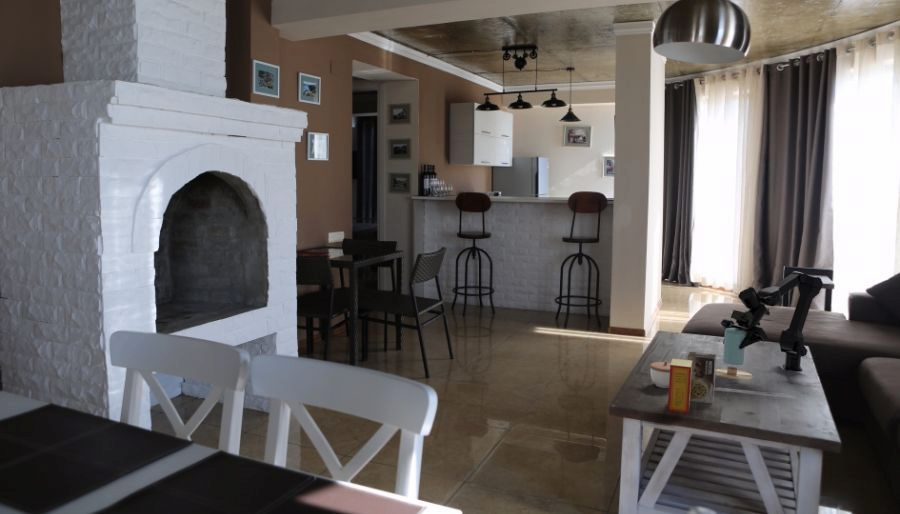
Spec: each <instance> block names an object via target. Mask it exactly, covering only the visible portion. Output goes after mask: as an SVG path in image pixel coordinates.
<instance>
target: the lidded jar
mask: <svg viewBox="0 0 900 514" xmlns="http://www.w3.org/2000/svg"><path fill="white" fill-rule="evenodd" d="M670 364H671V362H668V361H667V360H664V361H656V362H651V363H650V378H651V380H652V382H653V383H654V384H655V387H658V388H662V389H669V378H670Z"/></svg>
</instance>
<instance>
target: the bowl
mask: <svg viewBox="0 0 900 514" xmlns="http://www.w3.org/2000/svg"><path fill="white" fill-rule="evenodd" d="M726 369H727V374H729V375H737V370H738V367H736V366H727V368H726Z"/></svg>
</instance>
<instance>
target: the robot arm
mask: <svg viewBox="0 0 900 514" xmlns="http://www.w3.org/2000/svg"><path fill="white" fill-rule="evenodd" d="M823 285H824V283H823V280H822V278H821V277H819V276H812V275H810V274H807V273H804V272H803V271H802V272H800V271H792V272H790V274H789V275H787V276H786V277H785V278H783V279H781V280H780V281H779V282H776V284H774V285H773V286H769V287H765V288H762V289H760V290H758V291H756V289H755V287H751V286H749V287H748V288H745V289H743V290H742V291H740V292H739V293H738V298H739V301H741V303H742V304H743V306H744V307H745V308H746V309H747V311H745V312H743V311H741V310H735V309H733V310H732V313H731V315H730V318H731V319H726V318H724V319H722V321H721V322H720V325H721V327H722V328H724V331H725V330H726V328H738V329H743V330H745V333H746V336H745V338H744V340H743V341H742V343H741V344H740V346H739V349H743V348H747V347H748V346H751V345H753V344H756V343H760V341H761V342H762V343H763V342H764V343H765V342H766V341H767V339H768V334H767V333H766V331H765V329H764V328H763V327H761V322H760V321H761V320H763V318H764V317H765V316H770V315H771V313H770V308H767V307H776V305H778V304H779V302H780V301H781V300H782V296H783V295H786V294H787V293H788V292H789V291H791V290H792V289H794V288H795V287H796V286H797V290H798V294H799V296H798V299H797V301H796V302H797V303H796V306H795V308H794V309H795V310H794V311H793V315H792V317H791V320H790V324H789V326H788V328H787V329H786V330H784V329H783V330H781V333H780V337H779V338H778V339H779V341H778V345H779V347H780V352H781V353H785V359H784V360H785V362H784V364H782V367H783V368H784V370H790V371H801V372H802V371H803V368H802V367H801V363H802V361H801V360H802V357H806V356H807V355H808V354H807V353H808V349H807V348H806V346H805V345H804V342H805V341H804V340H805V338H804V334H803V330H804V327H805V324H806V321H807V317H808V314H809V311H810V308H811V306H812V303H813V299H814V298H815V297H816V296H818V295H819V294H820V293H821V290H822V288H823ZM766 306H767V307H766ZM732 319H734V320H735V322H734V321H733V320H732ZM724 338H725V336H724ZM724 338H723V339H724ZM722 344H723V345H724V340H723V341H722Z"/></svg>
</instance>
